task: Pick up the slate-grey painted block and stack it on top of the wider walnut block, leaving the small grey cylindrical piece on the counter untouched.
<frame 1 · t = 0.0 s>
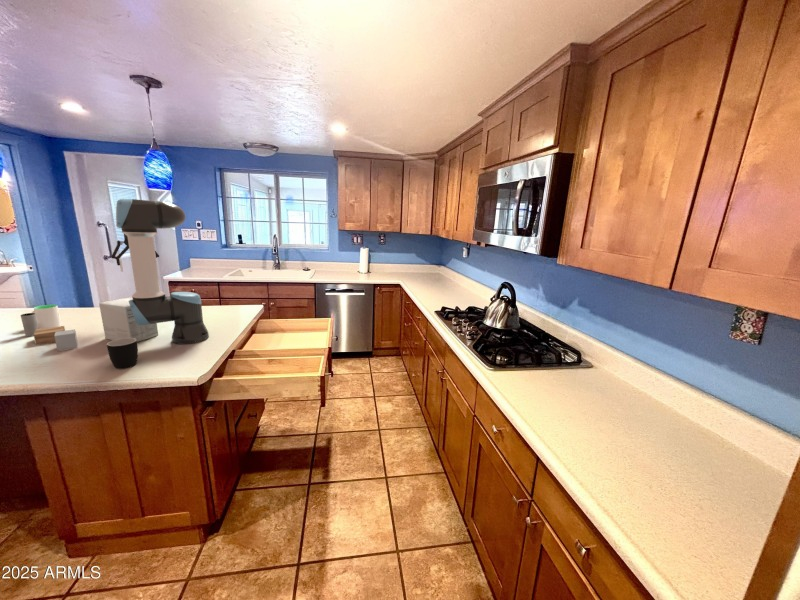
hand: (138, 270, 175), 28 cm above the worktop, fingers open, 13 cm apart
supplement box: (132, 337, 154), on the worktop
walnut block: (51, 340, 147), on the worktop
mug: (124, 365, 126), on the worktop
slate block: (68, 347, 139), on the worktop
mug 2: (45, 327, 161), on the worktop
grey cylindrical piece: (32, 335, 151), on the worktop
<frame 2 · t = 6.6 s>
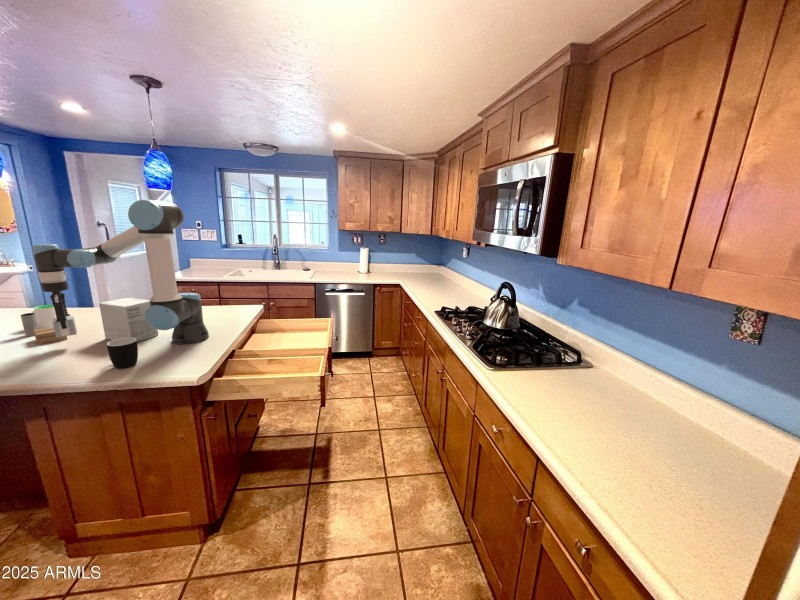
hand: (66, 333, 138), 7 cm above the worktop, fingers closed on slate block, 6 cm apart
slate block: (67, 334, 138), point 6 cm above the worktop, touching gripper
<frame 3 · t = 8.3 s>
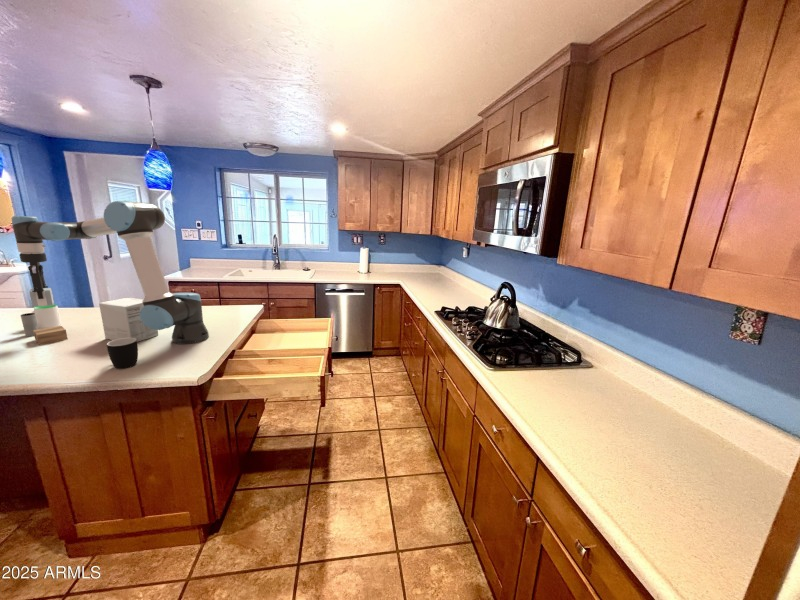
hand: (43, 304, 142), 17 cm above the worktop, fingers closed on slate block, 6 cm apart
slate block: (43, 304, 142), point 17 cm above the worktop, touching gripper
everything else where it was.
when the fingers open (5 cm above the worktop, at t = 10.8 s): slate block stays where it is, resting on walnut block.
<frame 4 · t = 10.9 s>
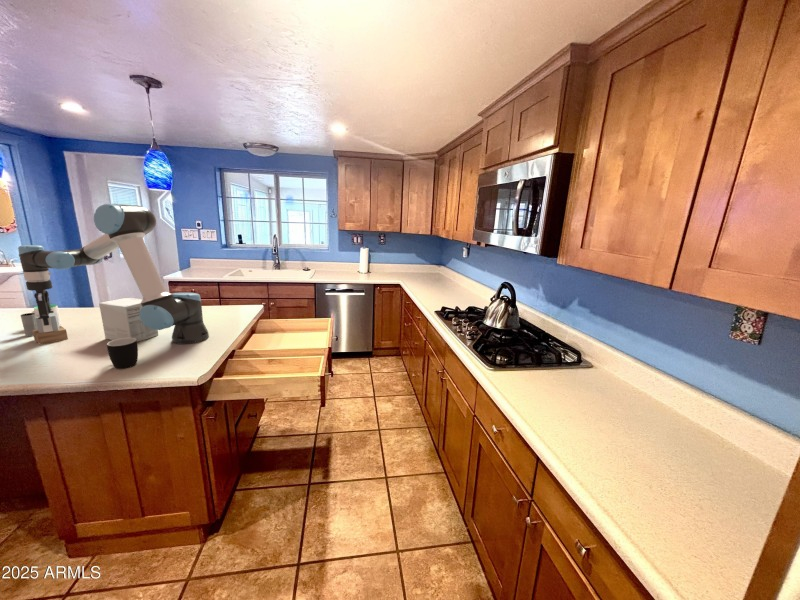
hand: (49, 329, 145), 5 cm above the worktop, fingers open, 7 cm apart
walnut block: (51, 340, 147), on the worktop, touching slate block
slate block: (49, 329, 145), point 5 cm above the worktop, touching walnut block
everything else where it was.
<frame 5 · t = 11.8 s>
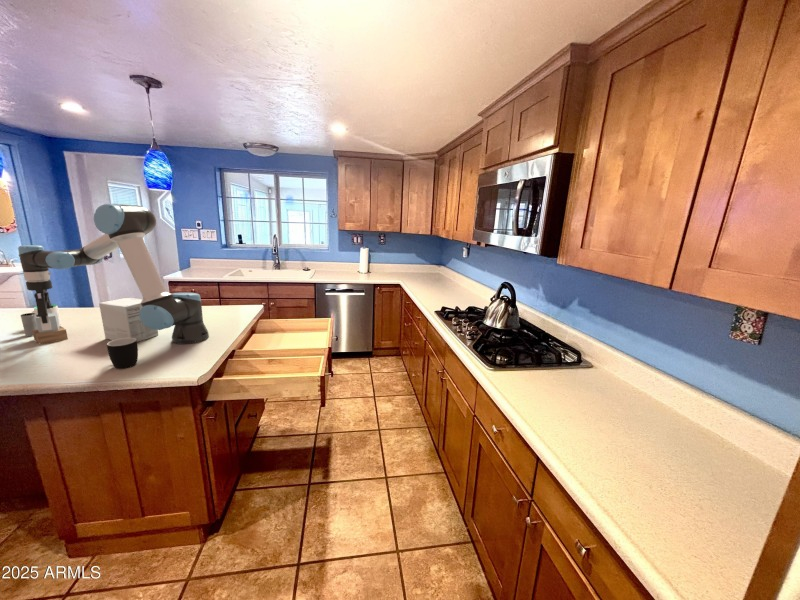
hand: (48, 325, 145), 7 cm above the worktop, fingers open, 13 cm apart
nothing on the worktop moved.
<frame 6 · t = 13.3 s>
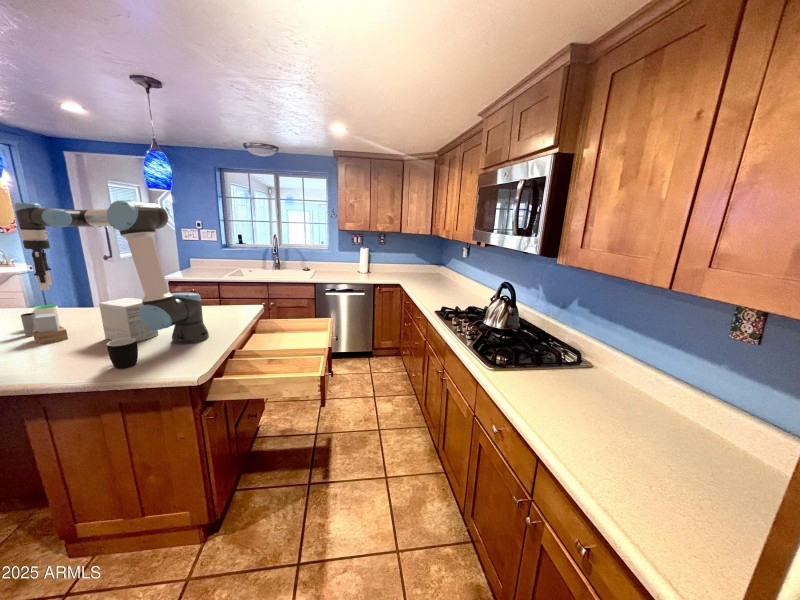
hand: (46, 287, 142), 25 cm above the worktop, fingers open, 13 cm apart
walnut block: (51, 340, 147), on the worktop
slate block: (49, 329, 146), point 5 cm above the worktop
everything else where it was.
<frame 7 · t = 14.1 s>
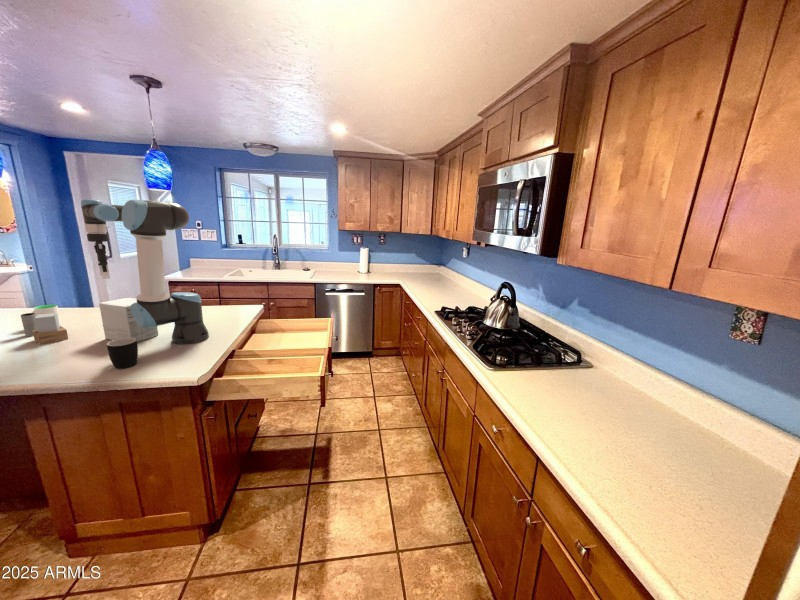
hand: (105, 276, 157), 28 cm above the worktop, fingers open, 13 cm apart
walnut block: (51, 340, 147), on the worktop, touching slate block
slate block: (49, 330, 145), point 5 cm above the worktop, touching walnut block
everything else where it was.
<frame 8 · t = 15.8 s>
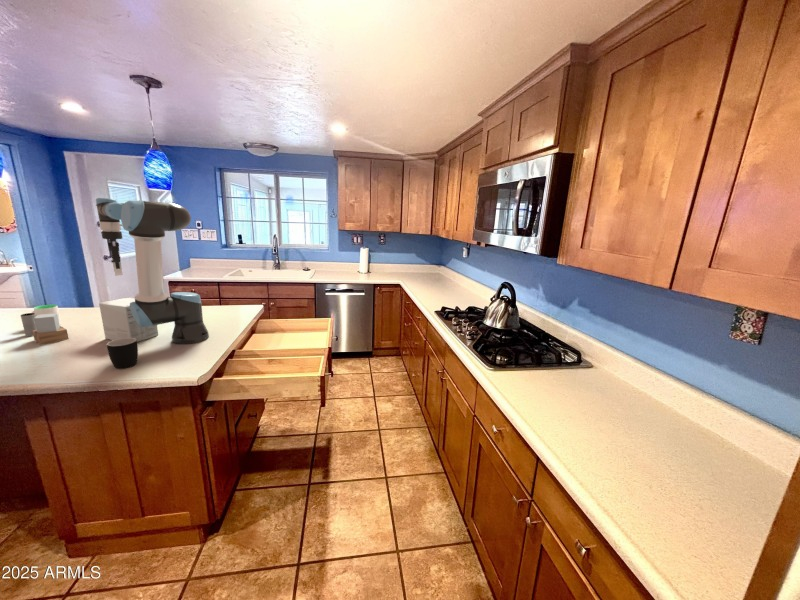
hand: (118, 273, 161), 29 cm above the worktop, fingers open, 13 cm apart
walnut block: (52, 340, 147), on the worktop
slate block: (49, 330, 145), point 5 cm above the worktop
everything else where it was.
at the end: slate block inside the target area on the walnut block (0.3 cm from its centre), point 5.0 cm above the walnut block's base; slate block tilted 0°; the gripper is holding nothing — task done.
